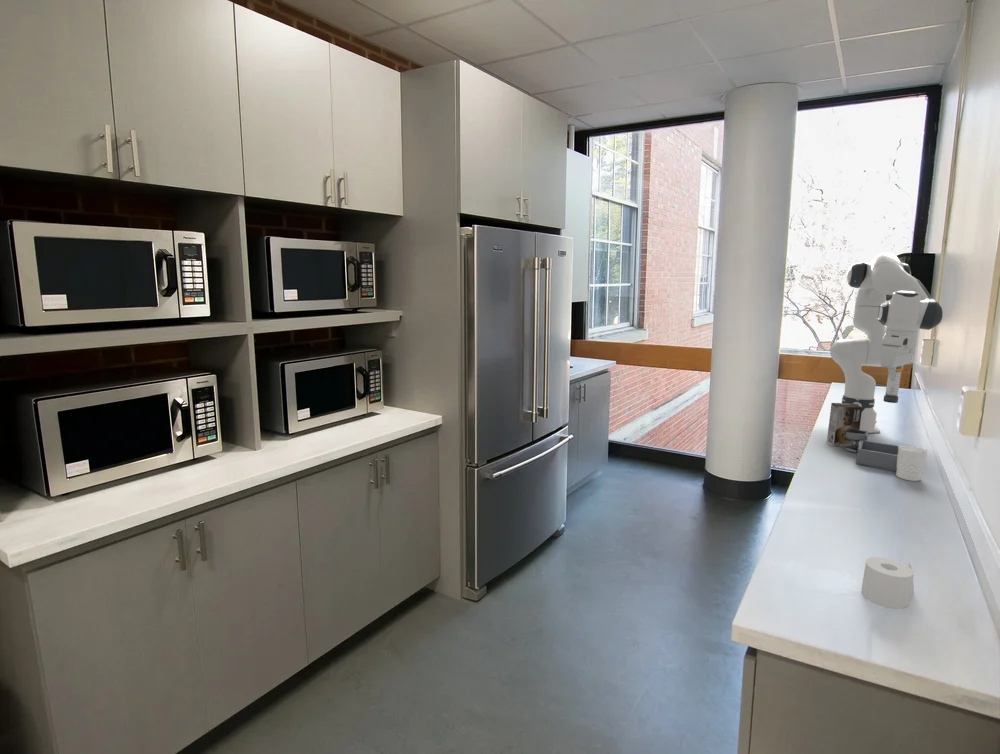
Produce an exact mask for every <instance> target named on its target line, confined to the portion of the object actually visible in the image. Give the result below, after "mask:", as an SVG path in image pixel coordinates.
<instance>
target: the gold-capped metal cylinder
mask: <svg viewBox="0 0 1000 754" xmlns="http://www.w3.org/2000/svg"><path fill="white" fill-rule="evenodd" d="M902 371H903V369H902V368H899V367H896V371H895V374H896V377H895V379H888V378H887V381H886V388H885V394H884V395H883V399H882V400H883V402H886V403H890V404H898V403H899V398H900V397H899V396H898V395H899V390H900V383H901V375H902ZM888 375H889V373H888ZM888 375H887V376H888Z"/></svg>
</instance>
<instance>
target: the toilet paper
mask: <svg viewBox="0 0 1000 754" xmlns="http://www.w3.org/2000/svg"><path fill="white" fill-rule="evenodd" d="M864 564H865V565H864V570H863V577H862V584H861V591H860V593H861V595H862V596H863V597H864V598H865V599H866V600H867V601H869V602H871V603H872V604H875V605H877V606H880V607H884V608H887V609H894V610H898V609H899V610H902V609H905V608H907V607H908V606H909V603H910V602H911V599H912V597H913V595H914V594H915V593H914V592H915V590H914V589H915V588H914V586H915V585H914V572H915V569H914V567H913V564H911V562H909V561H908V566H907V565H906V564H904V563H902V562H901V561H897V560H894V559H891V558H886V557H882V556H881V557H879V556H871V557H868V558H867V559H865V563H864Z"/></svg>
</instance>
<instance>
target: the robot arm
mask: <svg viewBox="0 0 1000 754" xmlns="http://www.w3.org/2000/svg"><path fill="white" fill-rule="evenodd" d="M846 280H847V284H848V285H849V286H850V287H851V288H855V289H858V290H857V294H856V299H855V303H854V311H853V322H852V323H853V325H854V328H856V329H857V330H859V331H861V332H862V333H865V334H866V336H867V339H859V338H846V339H845V338H844V339H837V340H836V341H834V342H833V343H832V344H831V347H830V350H829V351H830V352H829V353H830V357H831V359H832V360H833V361H834V363H836V364H837V365H839V367H840V368H841V370H842V371H843V374H844V391H843V392H844V393H843V395H842V398H841V403H851V404H857V405H859V406H860V407H862V414H861V422H860V430H862V431H869V432H868V434H870V433H871V434H872V433H873V434H874V433H878V434H879V433H881V429H880V428H879V427H878V426H877V423H878V422H877V412H876V411H875V410H874V407H875V404H876V403H875V402H876V401H875V394H876V393H875V391H876V385H877V383H876V379H874V377H873V376H872V375H870V374H868V373H866V372H864V371H863V370H862V367H863V366H864V367H865V366H866V367H877V368H878V367H879V368H880V367H881V368H886V369H887V372H888V373H889V375H887V380H888V379H895V377H896V374H895V371H896V367H899V368H902V370H903V369H904V366H905V365H908V364H911V363H912V360H913V349H914V346H915V345H916V341H917V334H918V329H919V330H928V331H930V330H931V329H934V328H935V327H936V326H938V325H939V324H940V323H941V322H942V319H943V308H942V306H941V305H940V303H938V301H937V300H935V299H934V298H933V297H932V295H931V293H930V292H929V291H928V289H927V288H926V287H925V285H924V284H923V283H922V282H921V281H920V280H919V279H918V278H916V277H915V276H912V271H911V267H910V265H909V264H908V263H904V262H902V261H901V260H900V258H899V257H898V256H897V255H895V254H894V253H891V252H882V253H879V254H877V255H875V257H874V258H872V260H871V261H870V262H865V261H862V262H861V261H860V262H855V263H853V264H852V265H850V266H849V268H848V270H847V273H846ZM887 296H891V298H890V299H888V300H887Z"/></svg>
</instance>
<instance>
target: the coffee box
mask: <svg viewBox="0 0 1000 754" xmlns="http://www.w3.org/2000/svg"><path fill="white" fill-rule="evenodd" d="M861 414H862V407H860V406H859V405H857V404H851V403H842V402H831V404H830V413H829V419H828V420H829V421H828V422H829V423H828V431H827V435H826V442H827V443H828V444H830V445H831V446H832V447H847V446H852V439H848V438H847V437H846V431H847V429H848V428H849V429H856V430H860V422H861Z"/></svg>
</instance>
